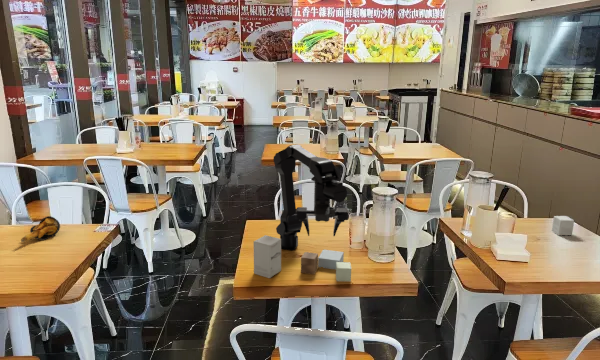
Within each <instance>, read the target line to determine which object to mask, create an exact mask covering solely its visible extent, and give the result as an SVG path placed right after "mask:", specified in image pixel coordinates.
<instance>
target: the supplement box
mask: <svg viewBox="0 0 600 360" xmlns="http://www.w3.org/2000/svg"><path fill="white" fill-rule="evenodd" d="M281 271H282V249H281V239H280V237H279V238H278V237H276V236H275V237H273V236H271V235H270V236H269V235H267V234H266V235H265V234H264V235H263V236H262V237H260V238H258V239H257V238H256V239H255V240H253V273H254V274H255V275H258V276H261V277H263V278H268V279H271V278H272V277H273V276H274V275H275V276H276V275H277V274H278V273H279V272H281Z"/></svg>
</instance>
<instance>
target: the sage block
mask: <svg viewBox="0 0 600 360" xmlns="http://www.w3.org/2000/svg"><path fill="white" fill-rule="evenodd" d="M335 280H336V282H352V264H351V262H350V261H349V262H346V261H343V262H336V269H335Z"/></svg>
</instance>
